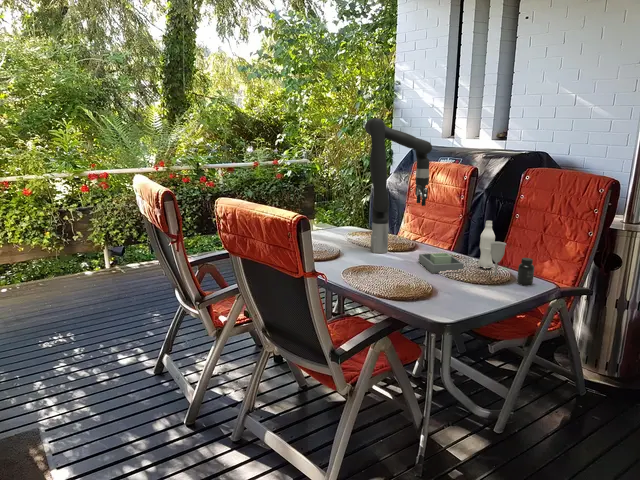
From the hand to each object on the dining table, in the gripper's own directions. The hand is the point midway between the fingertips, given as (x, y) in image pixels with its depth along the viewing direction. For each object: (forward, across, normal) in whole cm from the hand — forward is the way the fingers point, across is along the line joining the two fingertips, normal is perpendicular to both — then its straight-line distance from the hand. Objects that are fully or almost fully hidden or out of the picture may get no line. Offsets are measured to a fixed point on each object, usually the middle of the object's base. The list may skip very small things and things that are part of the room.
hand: (420, 204), depth 283 cm
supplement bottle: (+27, +67, +29) cm, 78 cm away
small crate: (+26, +36, -1) cm, 44 cm away
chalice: (+27, +59, +18) cm, 67 cm away
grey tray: (+26, +37, -1) cm, 45 cm away
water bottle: (+27, +42, +21) cm, 54 cm away
